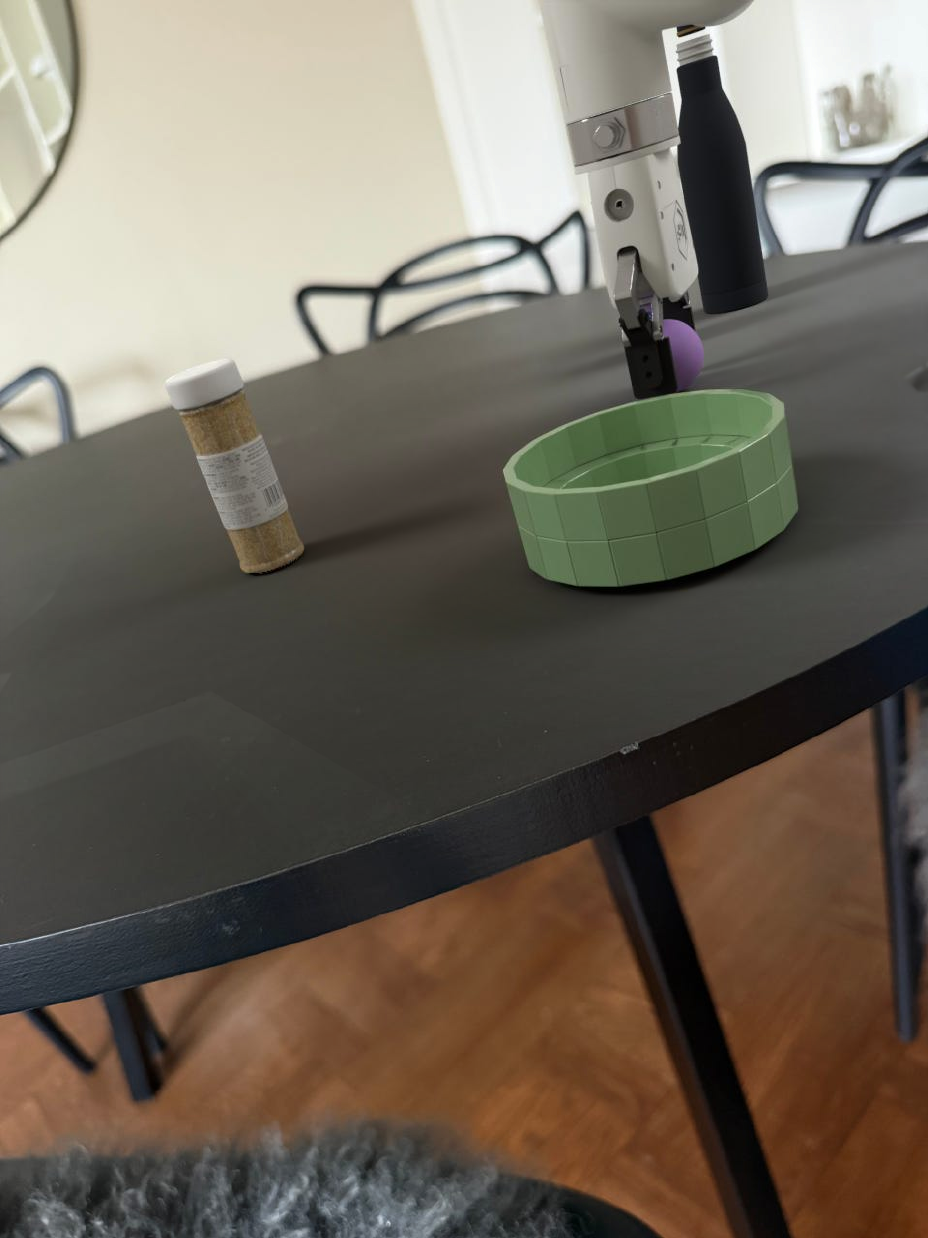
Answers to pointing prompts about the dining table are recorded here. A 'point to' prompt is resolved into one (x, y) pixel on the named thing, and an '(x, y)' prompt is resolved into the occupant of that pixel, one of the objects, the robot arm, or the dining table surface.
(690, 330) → the ball
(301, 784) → the dining table surface
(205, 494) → the dining table surface
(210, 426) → the spice jar
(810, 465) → the dining table surface
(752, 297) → the black water bottle
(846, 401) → the dining table surface
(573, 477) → the bowl
